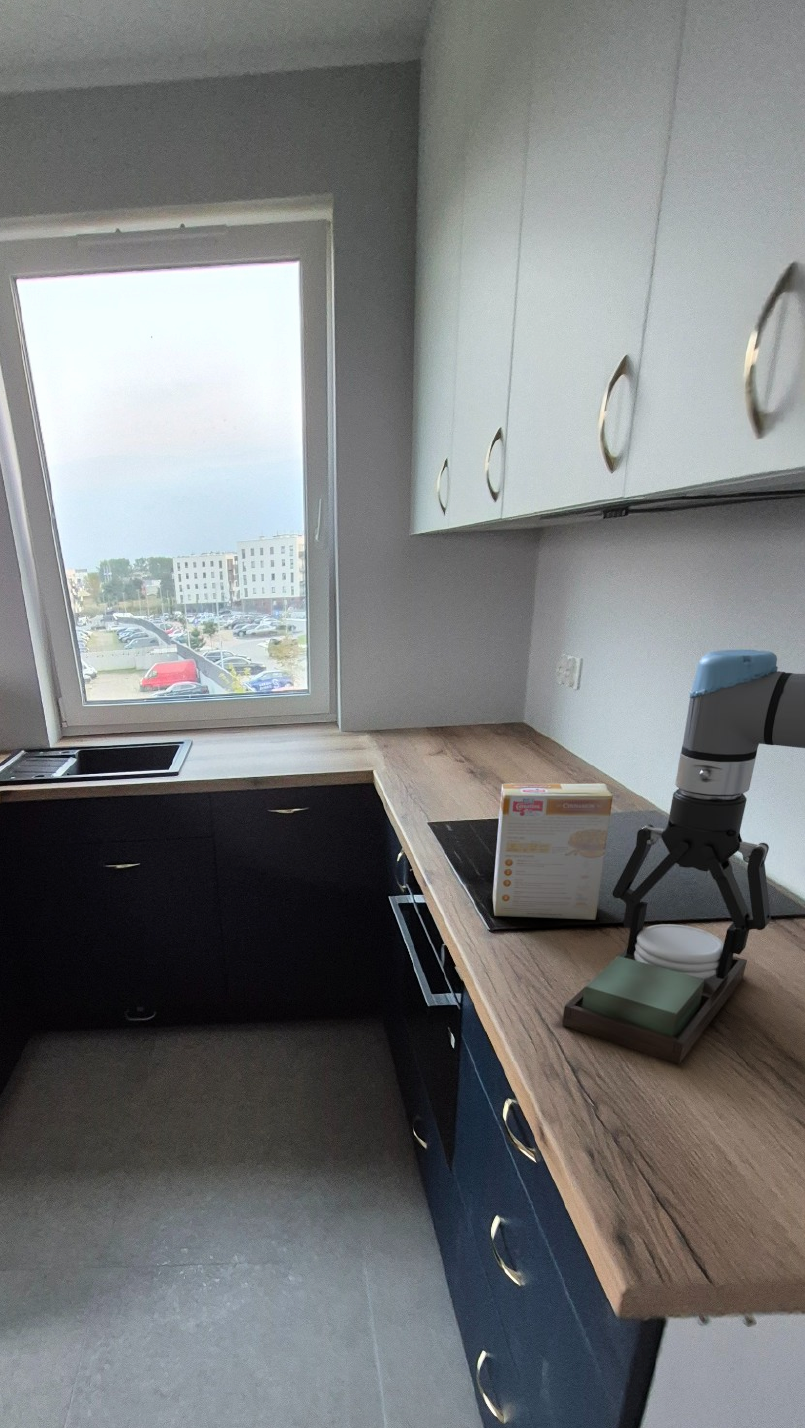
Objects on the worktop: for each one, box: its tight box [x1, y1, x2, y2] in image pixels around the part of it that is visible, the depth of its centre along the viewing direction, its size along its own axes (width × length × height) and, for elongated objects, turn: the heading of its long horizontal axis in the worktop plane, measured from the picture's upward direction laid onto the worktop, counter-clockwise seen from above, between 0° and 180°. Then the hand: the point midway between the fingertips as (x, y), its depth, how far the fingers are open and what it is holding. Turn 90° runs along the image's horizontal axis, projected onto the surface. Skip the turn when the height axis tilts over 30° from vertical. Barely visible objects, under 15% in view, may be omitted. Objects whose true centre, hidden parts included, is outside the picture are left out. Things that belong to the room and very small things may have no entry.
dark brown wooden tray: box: [561, 947, 748, 1065], centre depth 98 cm, size 13×25×5 cm, turn 137°
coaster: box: [634, 923, 724, 979], centre depth 101 cm, size 10×10×4 cm
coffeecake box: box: [492, 783, 614, 921], centre depth 121 cm, size 15×7×20 cm, turn 77°
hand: (676, 962), depth 102 cm, fingers closed on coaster, 10 cm apart
